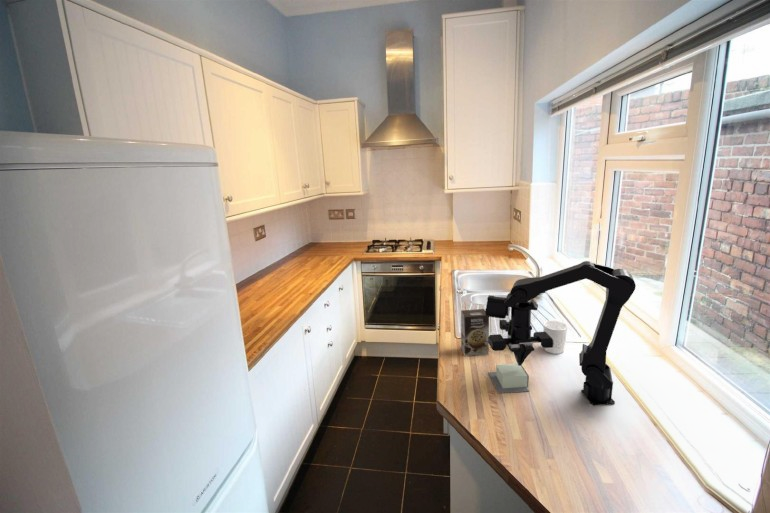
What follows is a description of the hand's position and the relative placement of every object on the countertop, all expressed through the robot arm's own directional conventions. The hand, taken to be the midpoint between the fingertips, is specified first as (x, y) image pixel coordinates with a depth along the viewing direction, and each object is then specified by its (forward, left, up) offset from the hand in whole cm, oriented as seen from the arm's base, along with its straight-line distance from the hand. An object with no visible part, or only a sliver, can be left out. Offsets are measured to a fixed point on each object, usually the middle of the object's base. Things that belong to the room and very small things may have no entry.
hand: (519, 364), depth 112 cm
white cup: (-20, -18, -6) cm, 27 cm away
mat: (+4, 0, -6) cm, 7 cm away
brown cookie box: (+9, -20, -6) cm, 23 cm away
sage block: (-2, 0, -4) cm, 4 cm away
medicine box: (-8, -21, -6) cm, 23 cm away
